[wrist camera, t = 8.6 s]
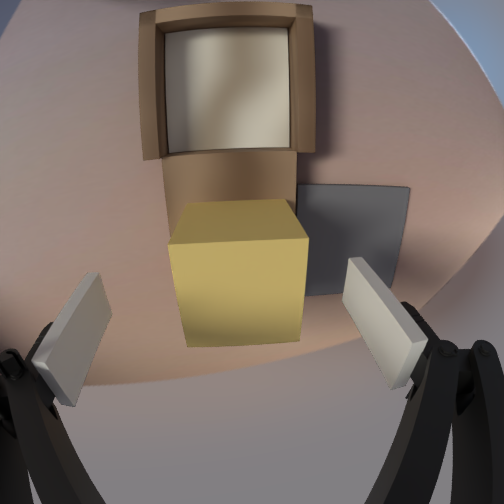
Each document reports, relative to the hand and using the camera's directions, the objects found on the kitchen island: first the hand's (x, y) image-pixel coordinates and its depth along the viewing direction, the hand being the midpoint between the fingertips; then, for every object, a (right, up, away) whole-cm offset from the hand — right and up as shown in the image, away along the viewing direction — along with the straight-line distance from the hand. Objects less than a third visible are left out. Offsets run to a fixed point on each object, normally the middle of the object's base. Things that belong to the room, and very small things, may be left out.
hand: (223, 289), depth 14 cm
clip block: (+1, +1, +2) cm, 2 cm away
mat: (+9, +3, +7) cm, 12 cm away
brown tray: (0, +9, +3) cm, 9 cm away
